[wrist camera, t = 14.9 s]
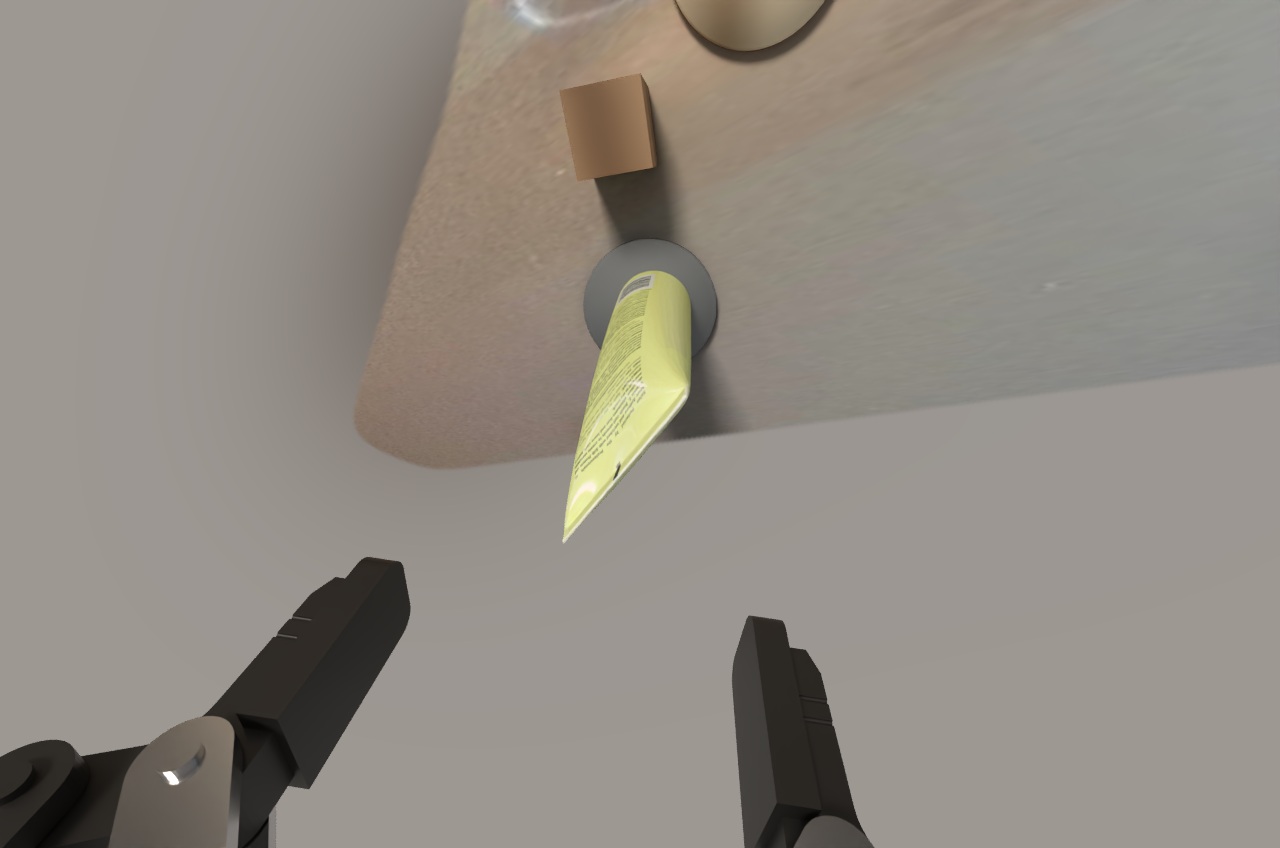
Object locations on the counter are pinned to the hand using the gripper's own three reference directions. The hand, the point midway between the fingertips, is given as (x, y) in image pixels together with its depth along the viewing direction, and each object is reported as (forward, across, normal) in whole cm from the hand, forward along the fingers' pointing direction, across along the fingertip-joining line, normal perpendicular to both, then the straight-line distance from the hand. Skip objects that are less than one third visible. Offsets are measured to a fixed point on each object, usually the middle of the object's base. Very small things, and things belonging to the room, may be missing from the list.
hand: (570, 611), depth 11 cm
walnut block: (+26, +3, -10) cm, 28 cm away
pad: (+25, 0, 0) cm, 25 cm away
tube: (+25, 0, 0) cm, 25 cm away
